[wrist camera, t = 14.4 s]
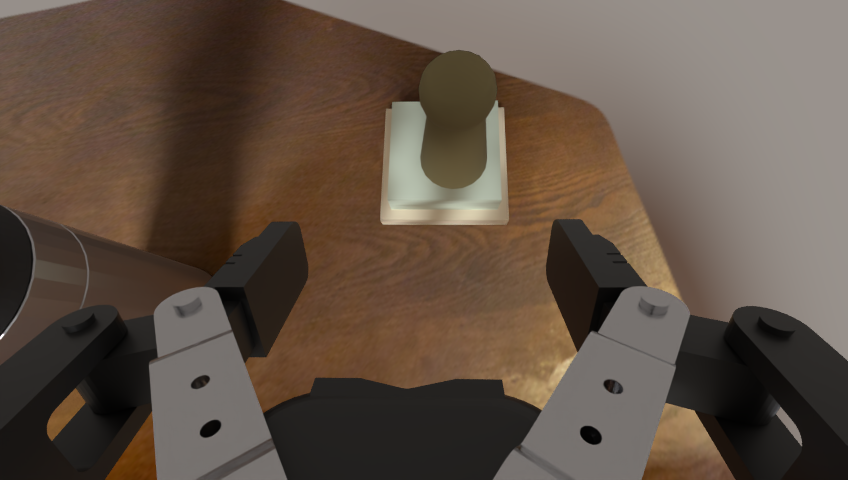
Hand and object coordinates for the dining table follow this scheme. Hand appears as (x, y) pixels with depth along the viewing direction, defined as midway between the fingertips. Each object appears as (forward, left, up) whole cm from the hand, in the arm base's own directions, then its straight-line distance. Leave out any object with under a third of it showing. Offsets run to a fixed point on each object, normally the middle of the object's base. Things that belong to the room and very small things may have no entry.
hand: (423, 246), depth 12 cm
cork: (+2, +13, -19) cm, 24 cm away
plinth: (+1, +14, -23) cm, 27 cm away
